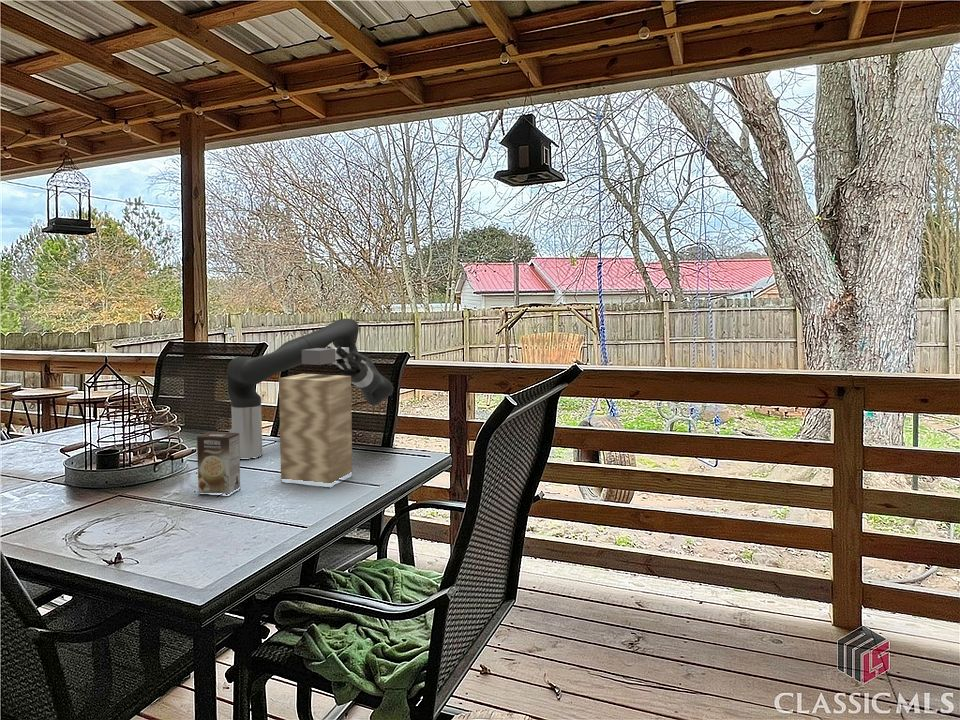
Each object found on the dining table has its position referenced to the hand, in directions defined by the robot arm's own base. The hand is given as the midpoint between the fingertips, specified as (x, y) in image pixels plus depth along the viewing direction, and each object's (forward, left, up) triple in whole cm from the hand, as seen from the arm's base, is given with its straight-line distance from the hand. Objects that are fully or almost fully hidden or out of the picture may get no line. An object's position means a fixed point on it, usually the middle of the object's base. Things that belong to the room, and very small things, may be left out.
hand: (332, 349), depth 182 cm
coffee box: (-18, -28, -38) cm, 50 cm away
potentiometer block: (0, -2, -3) cm, 4 cm away
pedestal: (0, -9, -37) cm, 38 cm away
